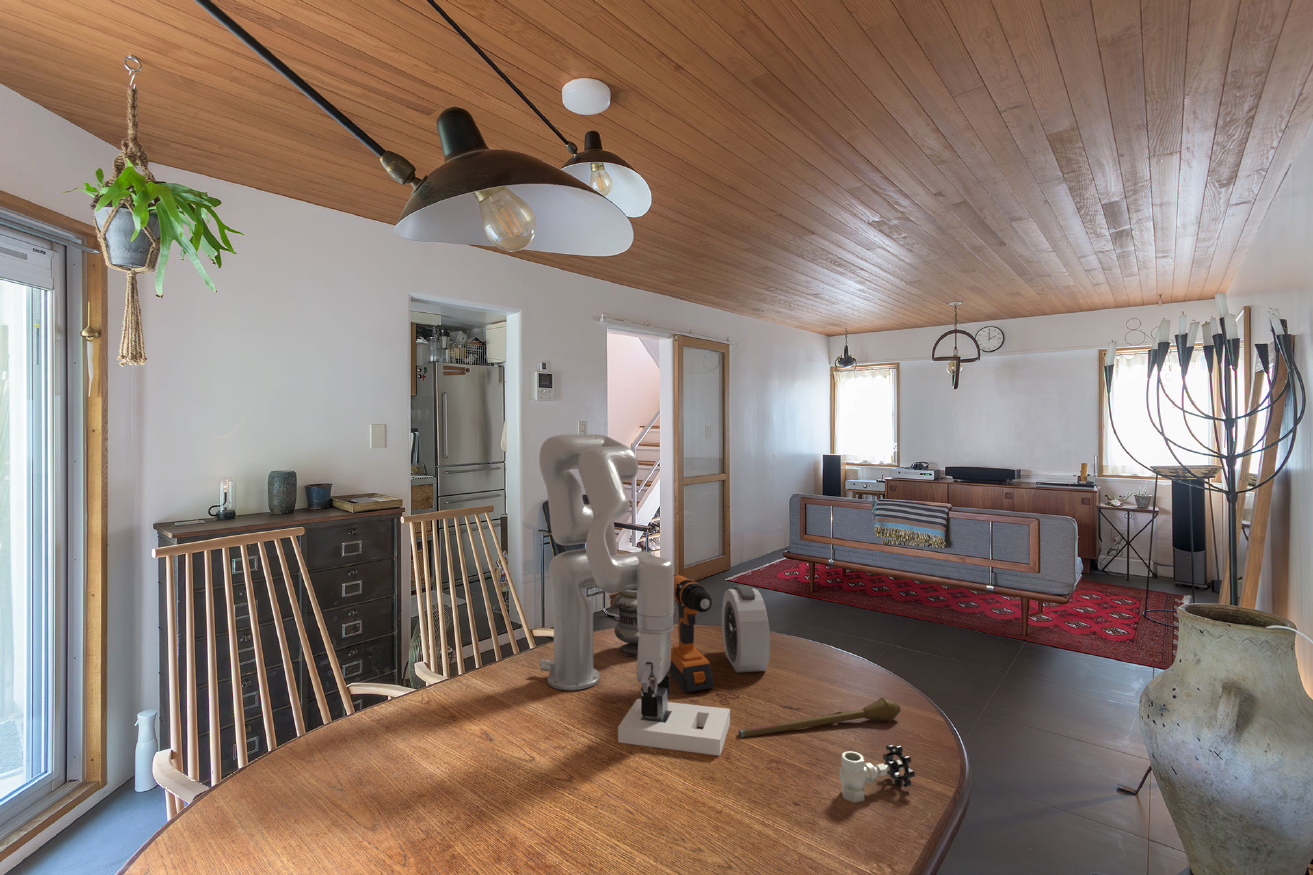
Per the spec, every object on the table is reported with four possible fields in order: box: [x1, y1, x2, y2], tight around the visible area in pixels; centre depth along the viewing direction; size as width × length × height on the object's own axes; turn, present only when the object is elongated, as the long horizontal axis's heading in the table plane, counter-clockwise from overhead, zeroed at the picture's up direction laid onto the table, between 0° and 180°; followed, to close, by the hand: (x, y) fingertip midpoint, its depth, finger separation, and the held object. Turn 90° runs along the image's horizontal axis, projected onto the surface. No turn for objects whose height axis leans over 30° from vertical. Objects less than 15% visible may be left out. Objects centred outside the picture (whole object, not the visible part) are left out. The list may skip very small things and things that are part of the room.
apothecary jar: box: [614, 589, 640, 658], centre depth 167 cm, size 12×12×18 cm
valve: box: [839, 744, 916, 804], centre depth 101 cm, size 7×7×12 cm
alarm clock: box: [721, 584, 771, 674], centre depth 158 cm, size 21×8×20 cm, turn 6°
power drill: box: [669, 574, 714, 693], centre depth 143 cm, size 22×7×25 cm, turn 16°
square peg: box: [644, 685, 669, 723], centre depth 122 cm, size 4×4×8 cm
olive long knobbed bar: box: [738, 697, 901, 739], centre depth 123 cm, size 5×35×5 cm
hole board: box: [617, 698, 731, 757], centre depth 121 cm, size 20×13×3 cm, turn 75°
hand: (656, 704), depth 122 cm, fingers open, 9 cm apart
